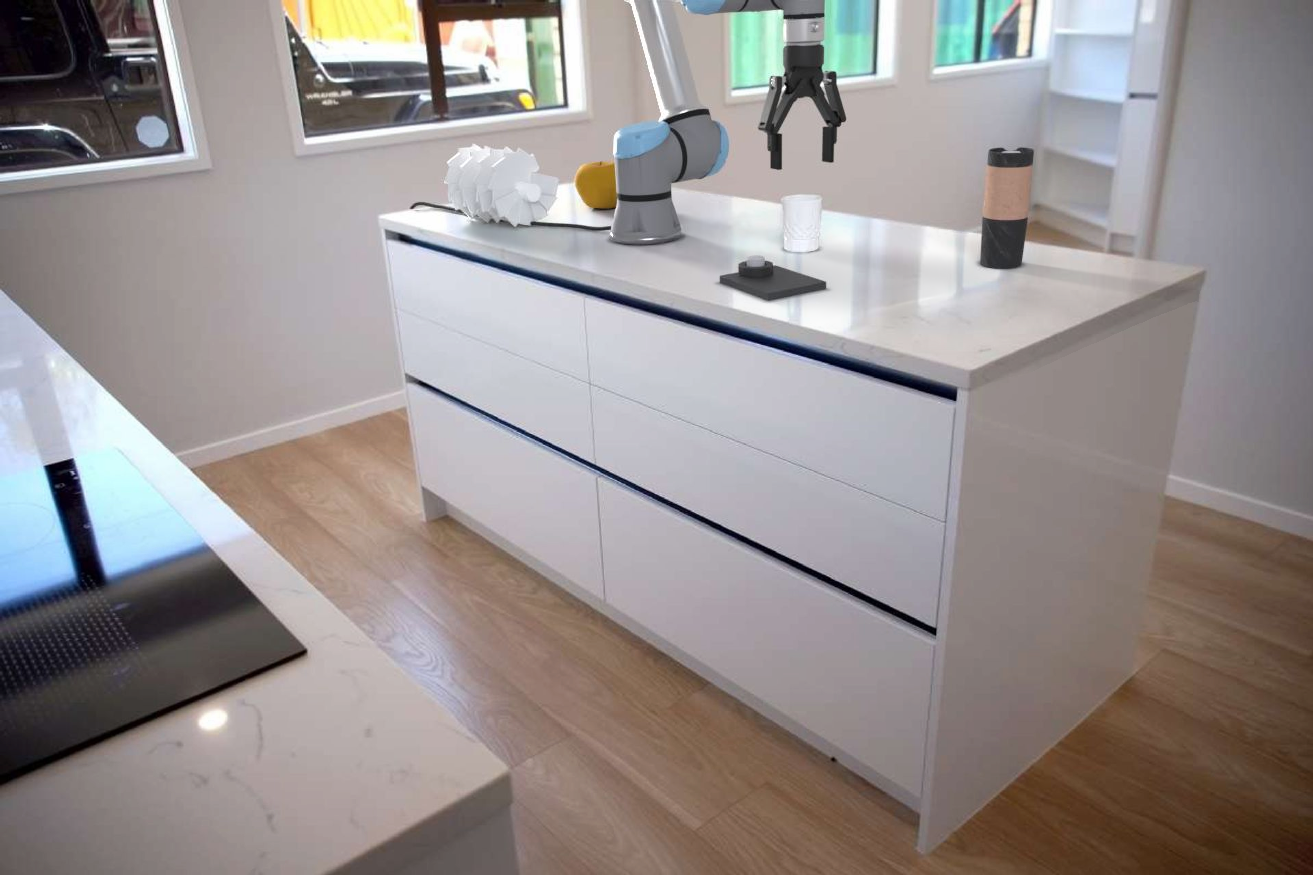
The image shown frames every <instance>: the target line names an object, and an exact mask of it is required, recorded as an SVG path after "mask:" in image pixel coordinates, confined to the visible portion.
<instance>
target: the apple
mask: <svg viewBox="0 0 1313 875" xmlns="http://www.w3.org/2000/svg"><path fill="white" fill-rule="evenodd" d="M573 181H574V186H575V189H576V192H577V194H578V196H579V197H580V198H581V201H582V202H583V203H584V204H585V205H586V206H587V207H589V208H590V209H606V210H607V209H609V210H610V209H614V208H616V206H617V190H616V174H615V161H603V160H601V161H593V162H592V161H591V162H586V163H584V164H581V166H580V167H579V168H578V170H577V171H576V173H575V176H574V180H573Z"/></svg>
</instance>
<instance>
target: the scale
mask: <svg viewBox="0 0 1313 875" xmlns="http://www.w3.org/2000/svg"><path fill="white" fill-rule="evenodd" d="M719 284H721V285H724V286H727V287H729V288H732V289H735V290H737V291H740V292H742V293H745V294H748V295H751V296H753V297H756V298H759V299H761V300H764V301H767V302H771V301H776V300H780V299H786V298H791V297H795V296H800V295H805V294H810V293H815V292H819V291H820V292H821V291H825V290H827V281H825V280H822V279H819V278H816V277H814V276H810V275H807V274H804V273H801V272H798V271H794V270H792V269H789V268H786V267H783V266H779V265H774V263H773V261H769V260H765V266H760V267H749V266H747V260H744V261H741V262H738V264H737V272H733V273H726V274H722V275H719Z"/></svg>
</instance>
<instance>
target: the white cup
mask: <svg viewBox="0 0 1313 875" xmlns="http://www.w3.org/2000/svg"><path fill="white" fill-rule="evenodd" d="M822 211H823V197H822V196H821V195H818V194H791V195H790V194H789V195H787V196H786V195H785V196H782V197H781V214H782V215H781V216H782V218H781V219H782V235H783V245H784V246H783V248H784V250H785V251H787V252H793V253H808V252H809V253H811V252H814V251H817V250H819V246H820V245H819V244H820V236H821V227H822V226H821V225H822V224H821V222H822V213H823V212H822Z"/></svg>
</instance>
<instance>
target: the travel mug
mask: <svg viewBox="0 0 1313 875" xmlns="http://www.w3.org/2000/svg"><path fill="white" fill-rule="evenodd" d="M987 153H988V154H987V161H986V162H987V163H986V164H987V165H986V173H985V174H986V175H985V184H984V185H985V186H984V195H983V196H984V197H983V208H982V220H981V222H982V223H981V239H980V258H979V259H980V260H979V261H980V262H979V263H980V265H981V266H983V267H984V268H985V267H986V268H988V269H989V268H990V269H999V270H1000V269H1002V270H1003V269H1004V270H1007V269H1015V268H1019V267H1021V266H1022V263H1023V257H1024V250H1025V243H1026V237H1027V236H1026V235H1027V226H1028V218H1029V213H1030V212H1029V211H1030V210H1029V209H1030V202H1031V201H1030V198H1031V190H1032V189H1031V188H1032V179H1033V178H1032V177H1033V168H1034V167H1033V165H1034V157H1035V150H1034V149H1033V148H1030V147H1024V146H1023V147H1017V148H1016V149H1014V150H1013V149H1012V150H1009V149H1005V147H993V148H990V149H988V152H987Z"/></svg>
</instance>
